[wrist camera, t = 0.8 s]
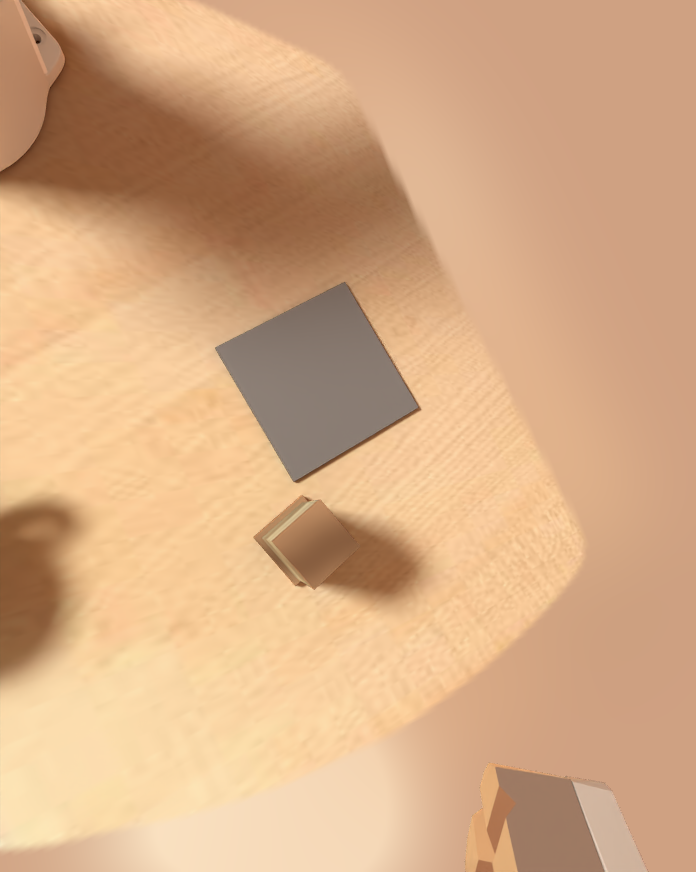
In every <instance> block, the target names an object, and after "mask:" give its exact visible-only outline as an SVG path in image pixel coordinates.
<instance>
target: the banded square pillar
mask: <svg viewBox="0 0 696 872" xmlns="http://www.w3.org/2000/svg"><path fill="white" fill-rule="evenodd" d="M254 539H255V540H256V541H257V542H258V543H259V544H260V546H261V547H262V548H263V549H264V550H265V551H266V553H267V554H268V555H269V556H270V557H271V558H272V560H273V561H274V562H275V563H276V564H277V565H278V566H279V568H280V569H281V570H282V571H283V572H284V573H285V575H286V576H287V577H288V578H289V579H290V580H291V582H292V583H293V584H294V585H295V586H296V585H297V584H298V583H300V582H301V581H302V582H303V583H305V584H306V585H308V586H309V587H311V588H313V589H314V590H315V589H316V588H317V587H318V586H319V585H320V584H321V583H322V582H323V581H324V580H325V579H326V578H327V577H328V576H330V575H331V574H332V573H333V572H334V571H335V570H336V569H337V568H338V567H339V566H340V565H341V564H342V563H343V562H344V561H346V560H347V559H348V558H349V557H350V556H351V555H352V554H353V553H354V552H355V551H356V550H357V549H358V548H359V547H360V545H359V544H358V543H357V542H356V541H355V540H354V538H353V537H352V536H351V535H350V534H349V532H348V531H347V530H346V529H345V528H344V527H343V525H342V524H341V523H340V522H339V521H338V520H337V518H336V517H335V516H334V515H333V514H332V512H331V511H330V510H329V509H328V508H327V507H326V505H325V504H324V503H323V502H322V501H321V500H315V501H309V502H308V501H307V500H306V499H305V498H304V497H303V495H302V496H300V497H299V498H298V499H296V500H295V501H294V502H293V503H292V504H291V505H290V506H288V507H287V508H286V509H285V510H284V511H283V512H282V513H280V514H279V515H278V516H277V517H276V518H275V519H274V520H272V521H271V522H270V523H269V524H268V525H267V526H266V527H264V528H263V529H262V530H261V531H260V532H259V533H258V534H256V535H255V536H254Z"/></svg>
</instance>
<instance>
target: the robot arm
mask: <svg viewBox="0 0 696 872" xmlns="http://www.w3.org/2000/svg"><path fill="white" fill-rule="evenodd" d="M35 41H40V43H38V44H36V42H35ZM64 63H65V56H64V54H63V52H62V49H61V47H60V45H59V44H58V42H57V41H56V40H55V39H54V37H53V36H52V35H51V34H50V33H49V32H48V30H47V29H46V28H45V27H44V26H43V25H42V24H41V22H40V21H39V20H38V19H37V18H36V17H35V16H34V14H33V13H32V12H31V11H30V10H29V9H28V8H27V6H26V5H25V4H24V3H23V2H22V1H21V0H0V171H2V170H4V169H5V168H7V167H9V166H10V165H12V164H13V163H14V162H16V161H17V160H18V159H19V158H20V157H22V156H23V155H24V154H25V153H26V151H27V150H28V149H29V148H30V147H31V145H32V144H33V143H34V141H35V139H36V138H37V136H38V134H39V132H40V130H41V127H42V125H43V121H44V117H45V112H46V104H47V96H48V92H49V89H50V87H51V85H52V84H53V83H54V81H55V80H56V78H57V77H58V75H59V74H60V72H61V71H62V69H63V66H64ZM480 792H481V799H482V805H483V808H482V809H480V810H479V811H478V812H477V813H475V814H474V815H473V816H472V819H471V823H470V828H469V832H468V837H467V846H466V857H465V872H648V870H647V868H646V866H645V864H644V861H643V859H642V857H641V855H640V852H639V850H638V848H637V846H636V844H635V842H634V839H633V837H632V835H631V832H630V830H629V828H628V826H627V823H626V821H625V819H624V817H623V815H622V812H621V810H620V808H619V806H618V803H617V801H616V799H615V797H614V794H613V792H612V790H611V789H610V788H609V787H608V786H607V785H606V784H605V783H603V782H597V781H591V780H586V779H580V778H574V777H568V776H566V777H561V776H557V775H552V774H546V773H541V772H536V771H531V770H526V769H520V768H515V767H510V766H504V765H499V764H494V763H489V764H488V765H487V767H486V769H485V771H484V774H483V778H482V781H481V784H480Z"/></svg>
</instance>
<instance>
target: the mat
mask: <svg viewBox="0 0 696 872" xmlns="http://www.w3.org/2000/svg"><path fill="white" fill-rule="evenodd" d="M215 349H216V351H217V353H218V354H219V356H220V358H221V359H222V361H223V363H224V365H225V366H226V368H227V370H228V371H229V373H230V375H231V376H232V378H233V380H234V382H235V383H236V385H237V387H238V388H239V390H240V392H241V393H242V395H243V397H244V399H245V400H246V402H247V404H248V405H249V407H250V409H251V410H252V412H253V414H254V416H255V417H256V419H257V421H258V422H259V424H260V426H261V427H262V429H263V431H264V432H265V434H266V436H267V438H268V439H269V441H270V443H271V444H272V446H273V448H274V449H275V451H276V453H277V455H278V456H279V458H280V460H281V461H282V463H283V465H284V466H285V468H286V470H287V472H288V473H289V475H290V477H291V478H292V480H293V482H294V481H296V480H298V479H299V478H301V477H303V476H304V475H306V474H308V473H309V472H311V471H313V470H314V469H316V468H318V467H319V466H321V465H323V464H324V463H326V462H328V461H330V460H331V459H333V458H335V457H336V456H338V455H340V454H341V453H343V452H345V451H346V450H348V449H350V448H351V447H353V446H355V445H356V444H358V443H360V442H361V441H363V440H365V439H366V438H368V437H370V436H371V435H373V434H375V433H376V432H378V431H380V430H382V429H383V428H385V427H387V426H388V425H390V424H392V423H393V422H395V421H397V420H398V419H400V418H402V417H403V416H405V415H407V414H408V413H410V412H412V411H413V410H415V409H417V408H418V406H417V404H416V402H415V400H414V399H413V397H412V395H411V394H410V392H409V390H408V389H407V387H406V385H405V383H404V382H403V380H402V378H401V377H400V375H399V373H398V372H397V370H396V368H395V366H394V365H393V363H392V361H391V360H390V358H389V356H388V355H387V353H386V351H385V349H384V348H383V346H382V344H381V343H380V341H379V339H378V338H377V336H376V334H375V332H374V331H373V329H372V327H371V326H370V324H369V322H368V320H367V319H366V317H365V315H364V314H363V312H362V310H361V309H360V307H359V305H358V303H357V302H356V300H355V298H354V297H353V295H352V293H351V292H350V290H349V288H348V286H347V285H346V283H345V282H344V283H342V284H340V285H338V286H336V287H334V288H332V289H330V290H328V291H326V292H324V293H322V294H320V295H318V296H316V297H314V298H312V299H310V300H308V301H306V302H304V303H302V304H300V305H298V306H296V307H294V308H292V309H290V310H288V311H286V312H284V313H282V314H280V315H279V316H277V317H275V318H273V319H271V320H269V321H267V322H265V323H263V324H261V325H259V326H257V327H255V328H253V329H251V330H249V331H247V332H245V333H243V334H241V335H239V336H237V337H235V338H233V339H231V340H229V341H227V342H225V343H223V344H221V345H219V346H217V347H215Z"/></svg>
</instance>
